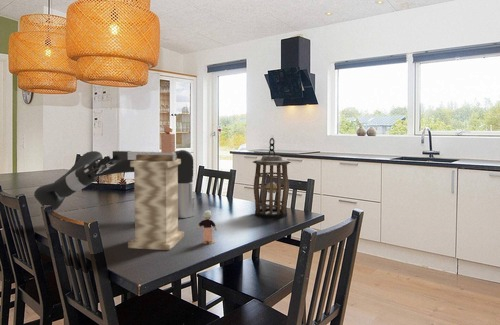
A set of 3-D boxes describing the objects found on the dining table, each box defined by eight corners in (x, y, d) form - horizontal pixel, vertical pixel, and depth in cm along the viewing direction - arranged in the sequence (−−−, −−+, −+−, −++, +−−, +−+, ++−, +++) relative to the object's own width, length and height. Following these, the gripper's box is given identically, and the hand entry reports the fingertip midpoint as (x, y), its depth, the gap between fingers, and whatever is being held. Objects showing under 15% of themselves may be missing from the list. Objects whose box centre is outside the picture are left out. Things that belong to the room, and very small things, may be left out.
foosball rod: (112, 159, 144) (111, 124, 143) (117, 158, 148) (116, 124, 147) (172, 161, 141) (172, 125, 140) (176, 160, 145) (176, 125, 144)
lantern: (297, 215, 195) (298, 138, 191) (271, 221, 182) (272, 138, 178) (270, 209, 209) (271, 137, 205) (244, 214, 196) (245, 137, 192)
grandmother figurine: (217, 241, 148) (217, 209, 147) (216, 244, 145) (216, 211, 143) (197, 241, 148) (197, 209, 147) (196, 244, 144) (196, 211, 143)
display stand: (127, 247, 139) (126, 156, 136) (146, 234, 156) (145, 152, 153) (169, 250, 137) (169, 156, 134) (184, 236, 155) (183, 153, 152)
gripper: (95, 183, 154) (128, 164, 152) (76, 188, 140) (111, 167, 138) (86, 167, 154) (118, 148, 152) (66, 171, 140) (101, 149, 138)
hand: (115, 157), depth 145 cm, fingers open, 8 cm apart
